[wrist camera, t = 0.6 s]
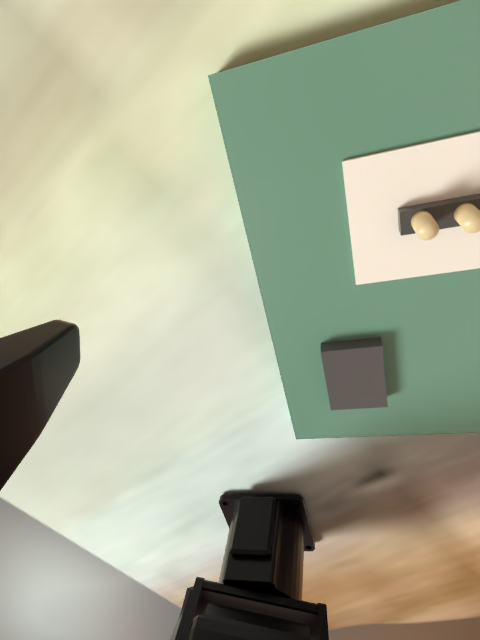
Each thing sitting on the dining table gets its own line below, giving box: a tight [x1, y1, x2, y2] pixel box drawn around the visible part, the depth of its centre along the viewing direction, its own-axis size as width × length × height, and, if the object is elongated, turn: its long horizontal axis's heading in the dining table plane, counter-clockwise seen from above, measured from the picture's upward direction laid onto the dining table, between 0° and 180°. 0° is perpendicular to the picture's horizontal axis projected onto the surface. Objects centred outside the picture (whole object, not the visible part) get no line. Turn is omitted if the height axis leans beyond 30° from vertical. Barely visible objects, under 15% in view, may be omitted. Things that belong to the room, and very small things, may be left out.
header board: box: [208, 0, 480, 439], centre depth 18 cm, size 20×14×3 cm
